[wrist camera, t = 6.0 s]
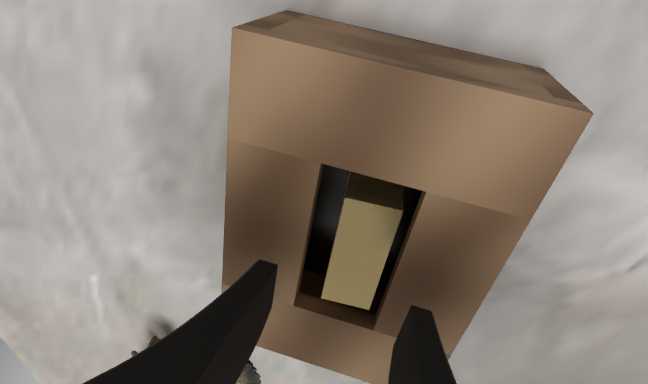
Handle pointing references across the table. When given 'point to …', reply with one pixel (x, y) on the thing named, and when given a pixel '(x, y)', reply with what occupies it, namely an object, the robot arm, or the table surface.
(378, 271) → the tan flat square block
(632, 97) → the table surface
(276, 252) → the box
